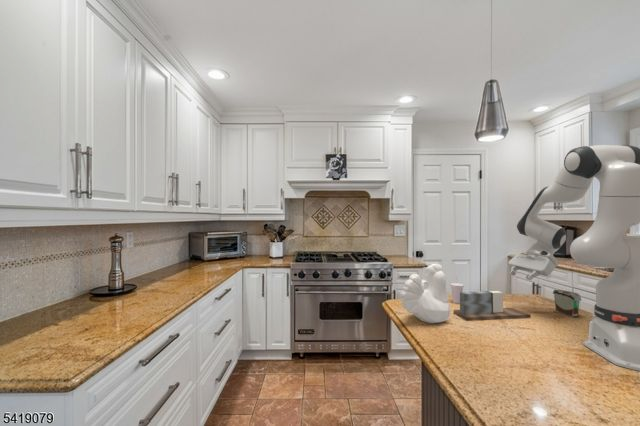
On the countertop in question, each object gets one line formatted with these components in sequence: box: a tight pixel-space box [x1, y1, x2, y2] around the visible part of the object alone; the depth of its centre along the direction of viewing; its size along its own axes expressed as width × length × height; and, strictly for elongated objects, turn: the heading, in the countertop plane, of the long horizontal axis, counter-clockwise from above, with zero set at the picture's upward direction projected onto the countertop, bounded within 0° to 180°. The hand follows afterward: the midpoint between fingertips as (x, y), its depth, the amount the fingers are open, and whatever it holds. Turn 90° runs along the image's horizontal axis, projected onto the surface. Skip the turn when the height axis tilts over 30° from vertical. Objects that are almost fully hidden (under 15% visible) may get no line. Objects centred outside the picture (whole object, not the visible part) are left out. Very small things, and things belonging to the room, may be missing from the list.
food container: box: [552, 289, 582, 319], centre depth 131 cm, size 12×6×10 cm, turn 179°
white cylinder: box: [488, 290, 504, 313], centre depth 130 cm, size 5×3×9 cm, turn 97°
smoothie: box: [450, 275, 464, 305], centre depth 149 cm, size 6×6×14 cm
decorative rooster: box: [400, 263, 451, 324], centre depth 124 cm, size 25×16×25 cm, turn 105°
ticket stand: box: [453, 290, 532, 322], centre depth 130 cm, size 31×10×11 cm, turn 97°
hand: (519, 276), depth 132 cm, fingers open, 8 cm apart
